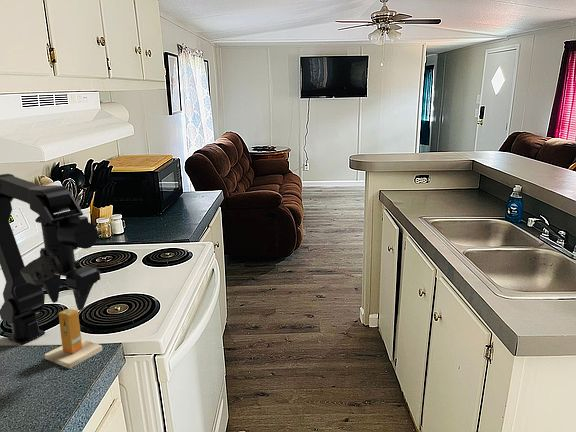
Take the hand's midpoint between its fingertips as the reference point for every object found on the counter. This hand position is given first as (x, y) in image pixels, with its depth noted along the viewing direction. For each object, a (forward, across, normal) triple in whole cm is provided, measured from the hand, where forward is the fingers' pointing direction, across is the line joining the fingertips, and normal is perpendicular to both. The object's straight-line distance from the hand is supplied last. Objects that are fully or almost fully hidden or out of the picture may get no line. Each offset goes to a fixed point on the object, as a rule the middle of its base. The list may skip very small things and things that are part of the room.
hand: (67, 305), depth 104 cm
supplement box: (+12, 0, 0) cm, 12 cm away
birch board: (+13, 0, 0) cm, 13 cm away
